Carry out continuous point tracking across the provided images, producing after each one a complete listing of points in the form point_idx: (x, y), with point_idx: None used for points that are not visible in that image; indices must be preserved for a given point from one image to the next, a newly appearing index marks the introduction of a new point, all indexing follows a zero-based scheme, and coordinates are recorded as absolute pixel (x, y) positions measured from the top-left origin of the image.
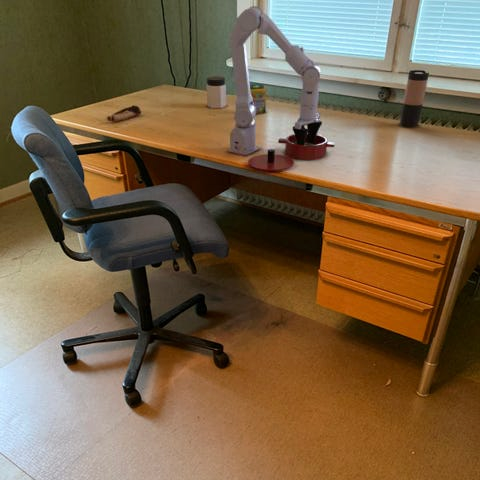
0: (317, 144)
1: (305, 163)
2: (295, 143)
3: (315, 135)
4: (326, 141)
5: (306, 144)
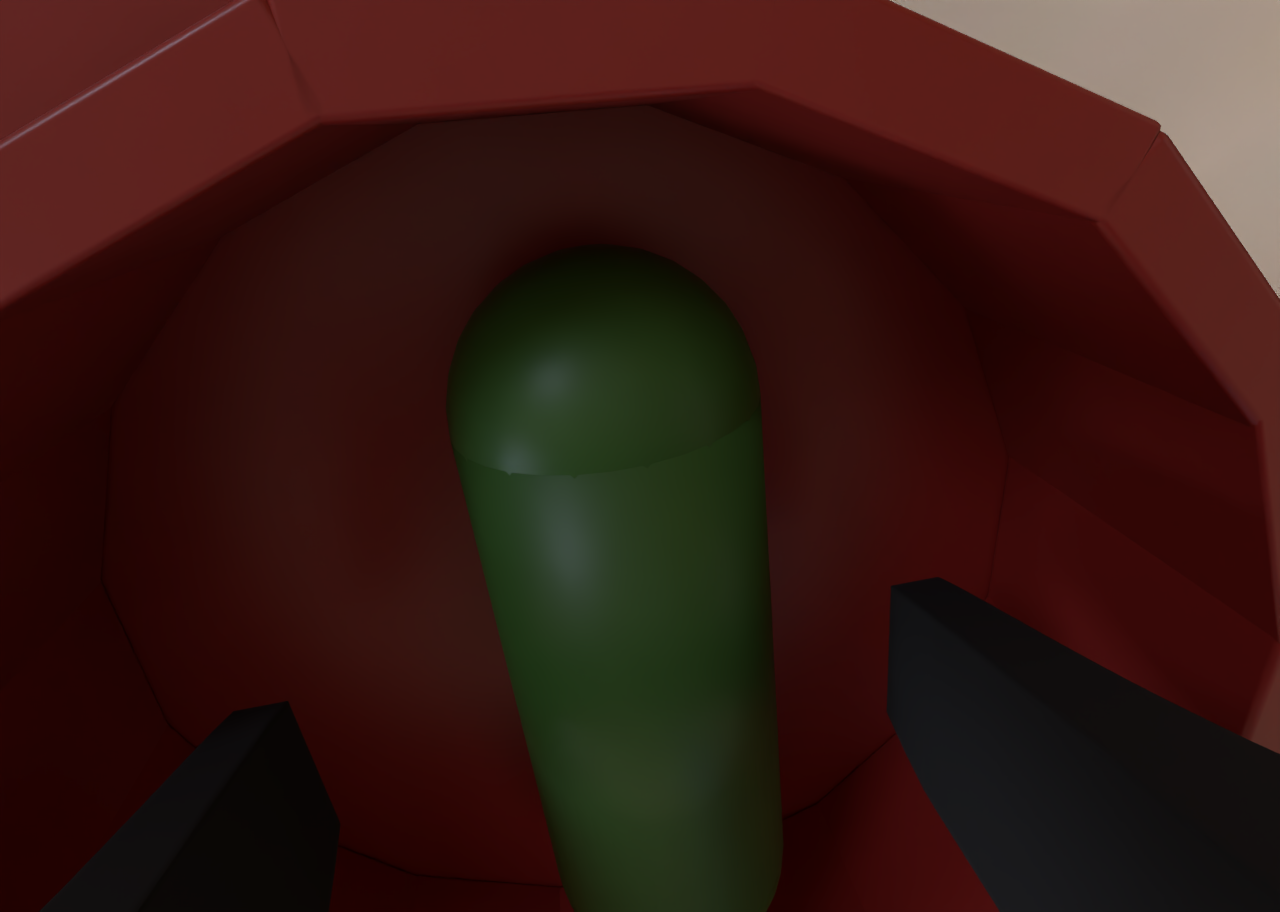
0: (955, 160)
1: (1190, 143)
2: (769, 888)
3: (140, 907)
4: (151, 66)
5: (728, 670)
